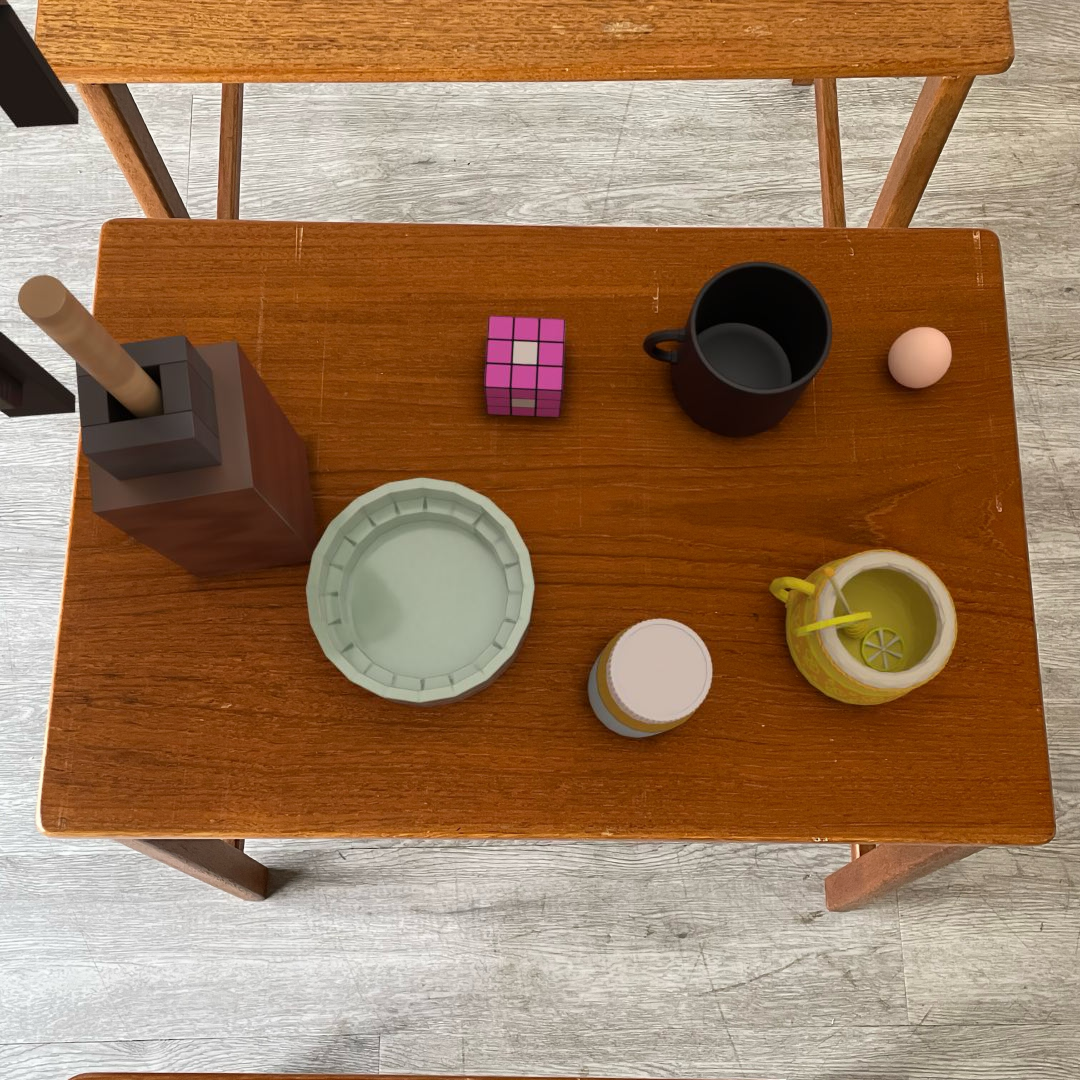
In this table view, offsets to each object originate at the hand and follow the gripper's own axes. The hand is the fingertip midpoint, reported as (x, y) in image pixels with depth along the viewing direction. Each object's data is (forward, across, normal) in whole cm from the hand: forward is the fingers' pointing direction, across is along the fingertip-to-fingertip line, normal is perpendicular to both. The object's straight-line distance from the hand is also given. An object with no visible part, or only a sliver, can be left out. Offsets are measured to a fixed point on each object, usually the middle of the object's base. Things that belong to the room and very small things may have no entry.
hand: (45, 258), depth 45 cm
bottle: (+35, -18, -28) cm, 48 cm away
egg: (+35, +5, -52) cm, 63 cm away
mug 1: (+35, +6, -37) cm, 51 cm away
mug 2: (+35, -15, -44) cm, 58 cm away
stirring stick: (+15, -2, 0) cm, 15 cm away
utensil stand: (+35, -2, 0) cm, 35 cm away
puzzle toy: (+35, +6, -22) cm, 42 cm away
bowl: (+35, -10, -13) cm, 39 cm away
